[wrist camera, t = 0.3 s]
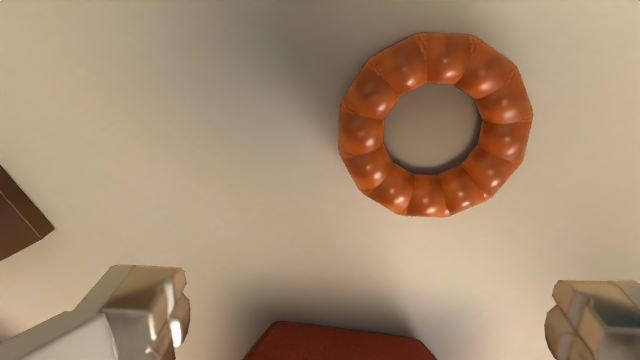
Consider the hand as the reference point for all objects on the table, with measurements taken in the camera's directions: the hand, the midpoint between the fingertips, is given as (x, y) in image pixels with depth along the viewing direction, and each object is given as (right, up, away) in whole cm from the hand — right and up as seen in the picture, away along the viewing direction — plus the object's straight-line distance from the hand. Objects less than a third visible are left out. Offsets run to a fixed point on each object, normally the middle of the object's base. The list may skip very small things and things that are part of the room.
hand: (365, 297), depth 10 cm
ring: (+6, +6, +17) cm, 19 cm away
